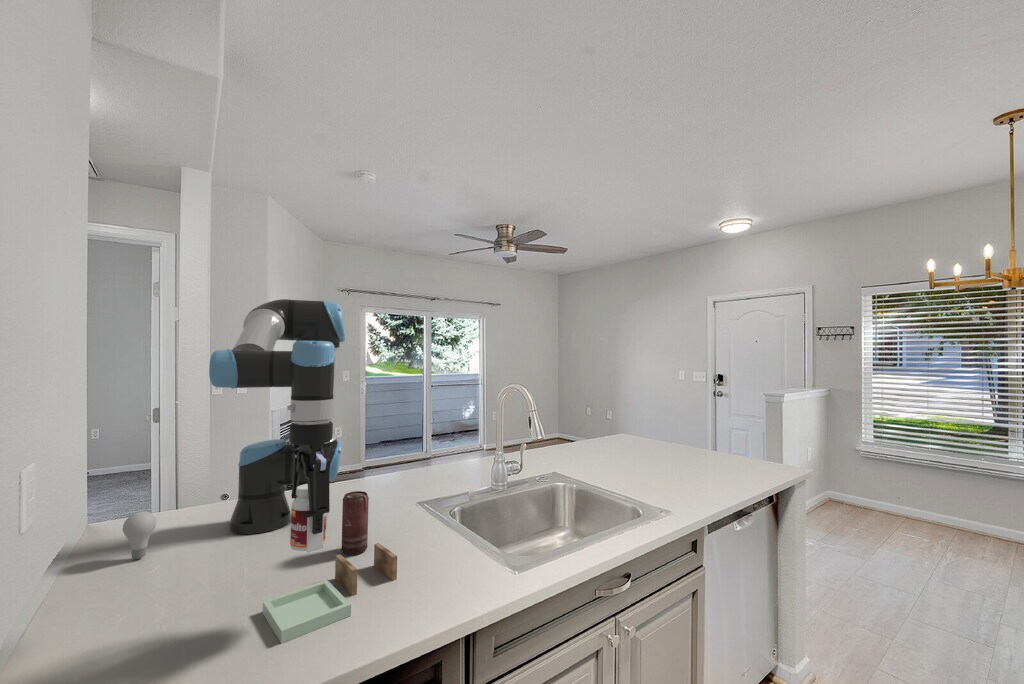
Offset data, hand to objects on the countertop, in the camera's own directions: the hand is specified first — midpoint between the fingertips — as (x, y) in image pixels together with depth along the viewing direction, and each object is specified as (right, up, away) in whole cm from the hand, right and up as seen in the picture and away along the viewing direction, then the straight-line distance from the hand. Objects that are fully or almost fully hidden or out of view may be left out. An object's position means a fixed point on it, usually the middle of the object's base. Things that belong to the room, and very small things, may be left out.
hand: (308, 543), depth 83 cm
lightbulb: (-50, -13, +20) cm, 55 cm away
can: (-1, -14, +27) cm, 30 cm away
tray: (0, -13, 0) cm, 13 cm away
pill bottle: (0, 0, 0) cm, 0 cm away
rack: (+7, -14, +13) cm, 20 cm away
